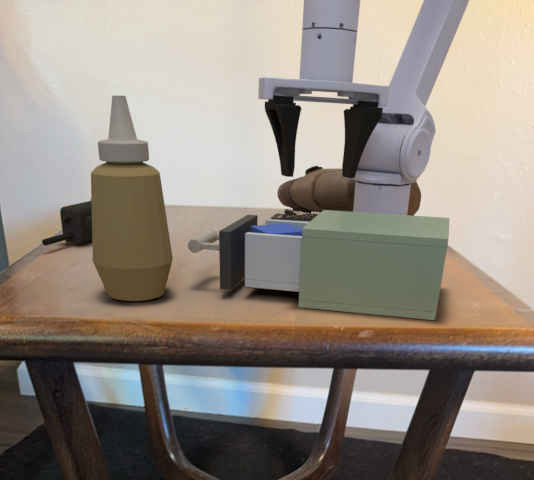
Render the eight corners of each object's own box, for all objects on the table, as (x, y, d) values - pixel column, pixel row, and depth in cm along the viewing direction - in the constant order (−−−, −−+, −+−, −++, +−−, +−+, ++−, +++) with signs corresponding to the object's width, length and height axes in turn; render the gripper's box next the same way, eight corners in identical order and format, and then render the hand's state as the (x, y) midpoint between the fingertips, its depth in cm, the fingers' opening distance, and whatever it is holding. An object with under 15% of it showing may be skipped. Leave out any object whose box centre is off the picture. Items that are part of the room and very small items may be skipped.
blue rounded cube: (250, 268, 69) (250, 225, 67) (285, 264, 70) (287, 223, 68) (267, 277, 65) (268, 233, 63) (304, 273, 67) (306, 230, 65)
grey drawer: (181, 285, 66) (179, 227, 63) (213, 264, 75) (212, 212, 72) (338, 300, 63) (343, 239, 60) (352, 275, 71) (357, 221, 68)
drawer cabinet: (298, 307, 63) (302, 228, 59) (318, 279, 73) (323, 209, 69) (435, 320, 61) (448, 238, 57) (437, 289, 70) (449, 217, 66)
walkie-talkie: (98, 197, 91) (29, 212, 79) (118, 200, 90) (51, 215, 78) (101, 232, 94) (35, 252, 82) (120, 235, 93) (57, 255, 81)
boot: (426, 177, 109) (340, 184, 119) (363, 145, 91) (267, 156, 100) (420, 228, 111) (336, 230, 121) (358, 206, 93) (265, 211, 102)
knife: (324, 228, 98) (312, 225, 98) (322, 232, 99) (311, 230, 98) (294, 210, 110) (283, 208, 109) (293, 214, 110) (283, 212, 110)
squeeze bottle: (80, 298, 64) (52, 94, 55) (130, 281, 71) (112, 94, 61) (143, 310, 61) (126, 96, 52) (189, 291, 67) (181, 97, 58)
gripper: (374, 41, 70) (359, 174, 77) (251, 29, 66) (247, 172, 73) (405, 35, 65) (387, 180, 71) (273, 22, 60) (267, 178, 67)
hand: (318, 176), depth 72 cm, fingers open, 7 cm apart
